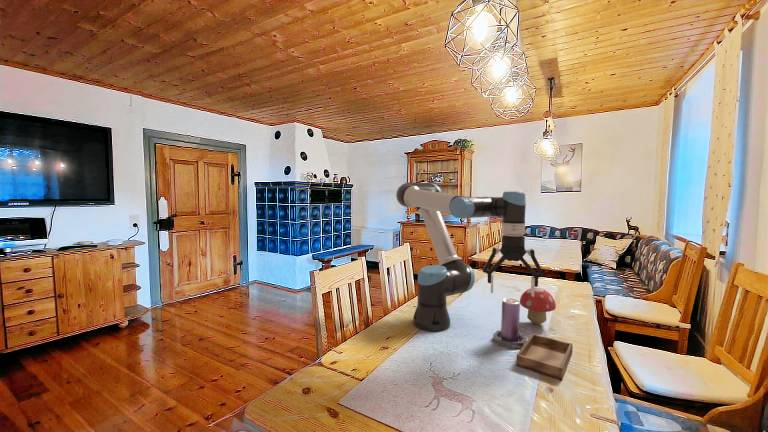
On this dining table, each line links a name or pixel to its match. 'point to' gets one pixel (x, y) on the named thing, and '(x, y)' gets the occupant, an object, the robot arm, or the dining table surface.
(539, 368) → the crate
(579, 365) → the dining table surface
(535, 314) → the decorative mushroom
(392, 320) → the dining table surface
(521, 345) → the collar
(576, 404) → the dining table surface
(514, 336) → the beverage can
